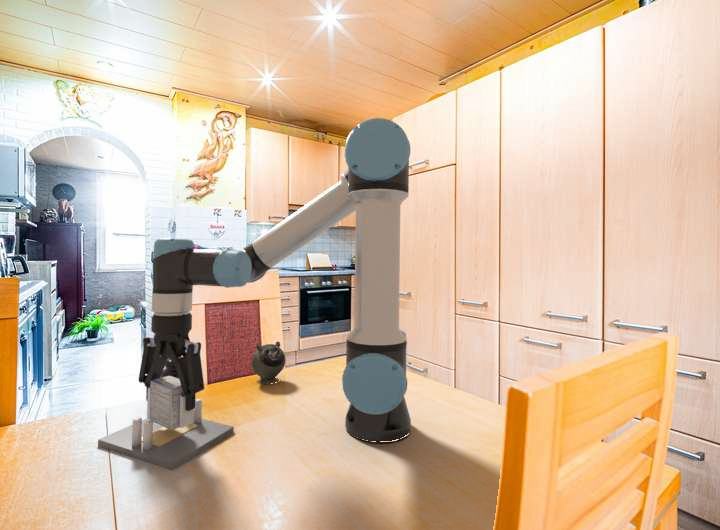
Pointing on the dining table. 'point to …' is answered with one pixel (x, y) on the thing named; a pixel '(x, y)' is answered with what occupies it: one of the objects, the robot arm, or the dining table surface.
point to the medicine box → (165, 401)
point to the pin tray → (166, 439)
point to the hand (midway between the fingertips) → (169, 420)
